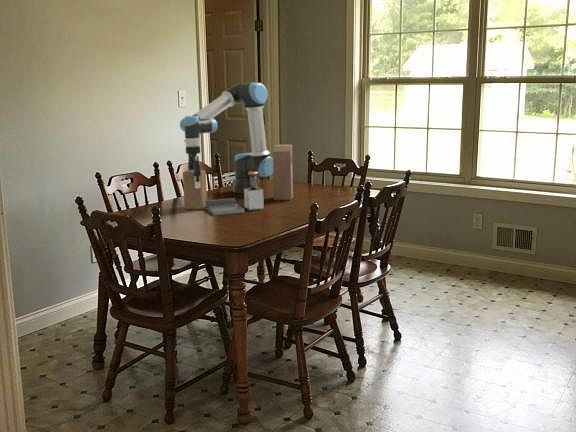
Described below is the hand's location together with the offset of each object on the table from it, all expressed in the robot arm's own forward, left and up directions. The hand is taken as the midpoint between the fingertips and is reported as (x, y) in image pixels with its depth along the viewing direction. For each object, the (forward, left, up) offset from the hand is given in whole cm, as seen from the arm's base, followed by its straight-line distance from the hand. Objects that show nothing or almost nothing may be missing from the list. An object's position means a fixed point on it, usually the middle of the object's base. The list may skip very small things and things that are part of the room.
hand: (195, 186), depth 336 cm
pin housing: (+14, +28, -12) cm, 33 cm away
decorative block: (-4, +51, -12) cm, 53 cm away
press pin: (+14, +28, -4) cm, 32 cm away
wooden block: (0, 0, -12) cm, 12 cm away
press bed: (+14, +12, -12) cm, 22 cm away
